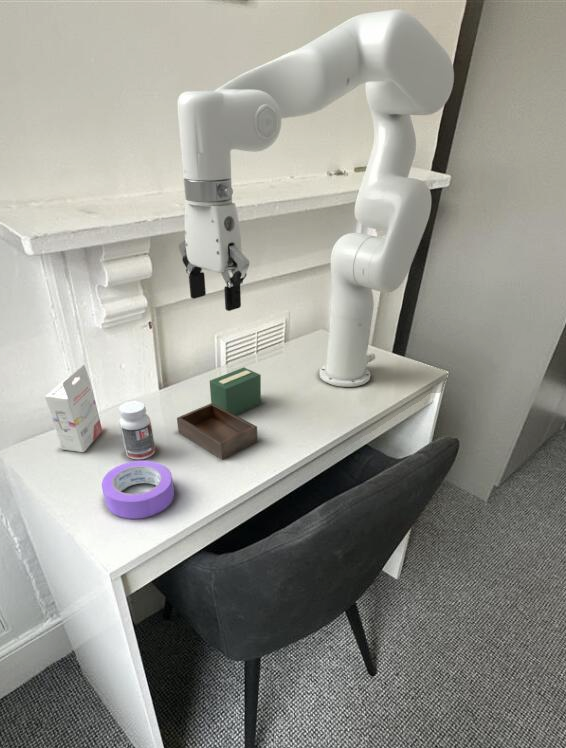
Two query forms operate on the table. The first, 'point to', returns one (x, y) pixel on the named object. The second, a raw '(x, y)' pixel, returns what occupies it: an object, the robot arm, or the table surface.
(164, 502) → the tape roll
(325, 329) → the table surface
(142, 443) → the pill bottle
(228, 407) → the green box
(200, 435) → the caddy
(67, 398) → the ink cartridge box
